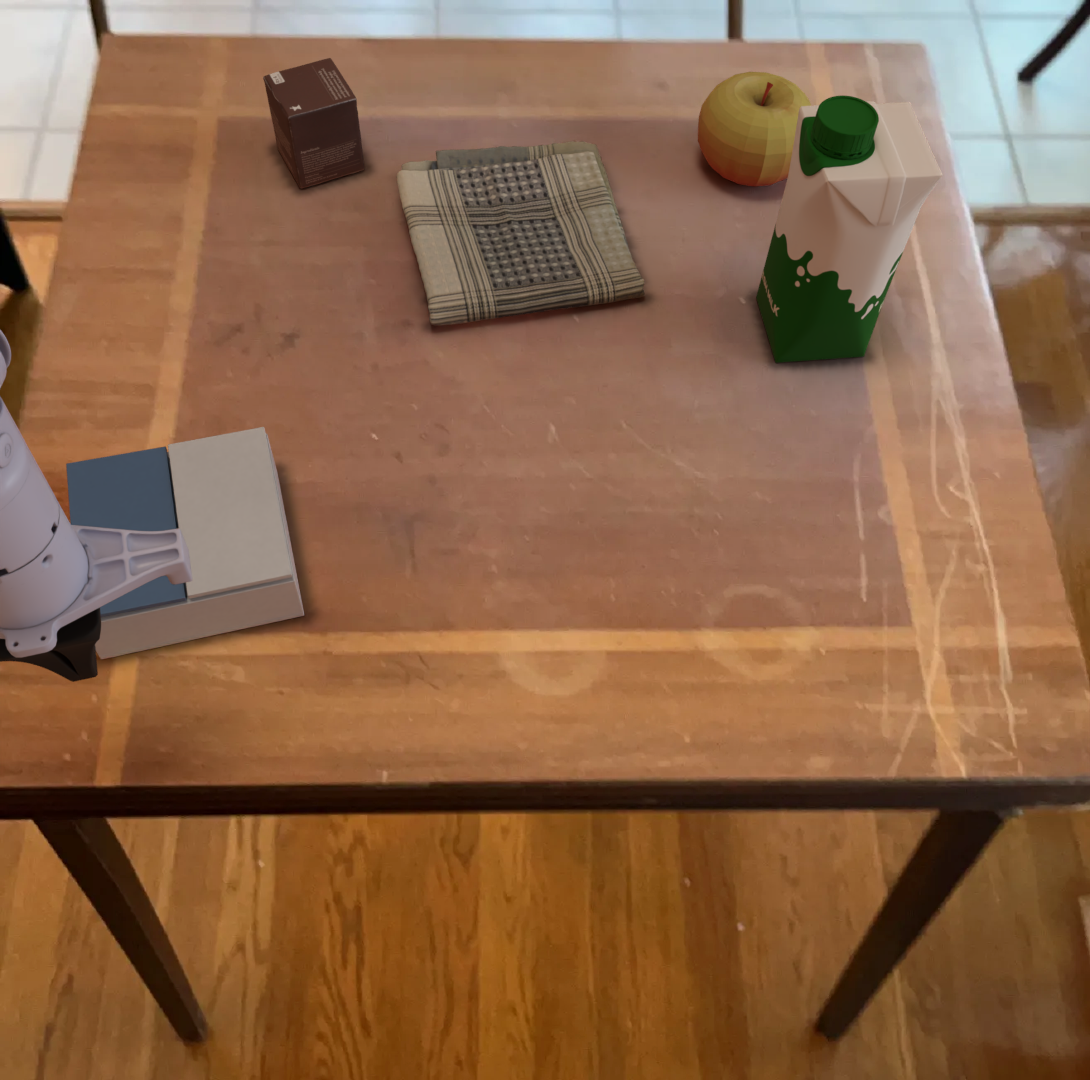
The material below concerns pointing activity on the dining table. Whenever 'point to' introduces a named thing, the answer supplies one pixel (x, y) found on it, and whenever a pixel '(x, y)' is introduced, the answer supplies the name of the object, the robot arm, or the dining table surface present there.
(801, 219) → the milk carton
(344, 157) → the box
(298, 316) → the dining table surface
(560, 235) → the dish towel
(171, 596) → the flap
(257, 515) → the carton
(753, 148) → the apple
